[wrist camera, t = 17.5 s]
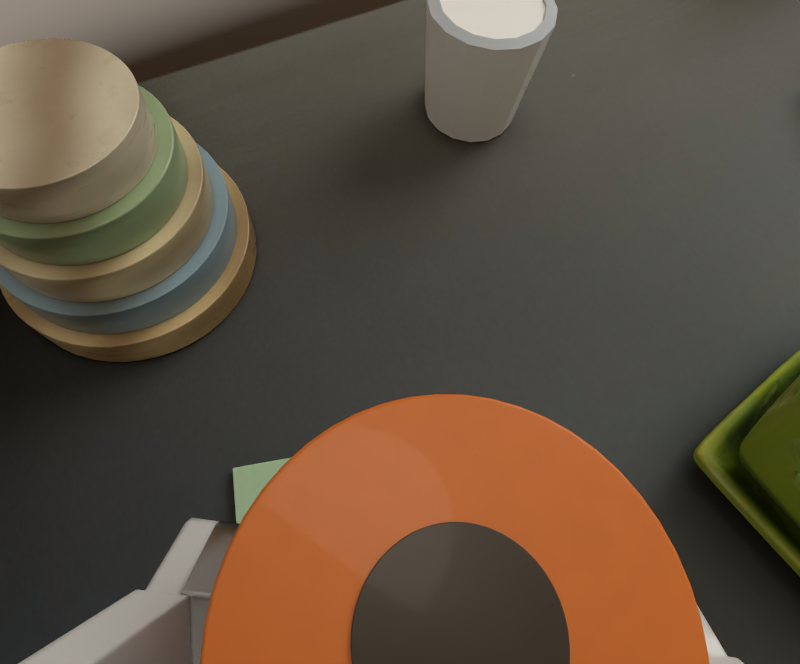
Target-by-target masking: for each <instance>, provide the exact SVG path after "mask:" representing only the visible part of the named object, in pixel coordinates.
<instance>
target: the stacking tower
mask: <svg viewBox="0 0 800 664" xmlns="http://www.w3.org/2000/svg"><path fill="white" fill-rule="evenodd" d="M255 260H256V238H255V232H254V228H253V225H252V222H251V219H250V216H249V213H248V210H247V207H246V204H245V201H244V198H243V196H242V194H241V192H240V190H239V189H238V187H237V185H236V184H235V183H234V181H233V180H232V179H231V178H230V176H229V175H228V174H227V173H226V172H225V171H224V170H222V169H221V168H220V167H219V166H218V165H217V164H216V162H215V161H214V160H213V159H212V157H211V156H210V155H209V154H208V153H207V152H206V151H205V150H204V149H203V148H202V147H201V146H200V145H198V144H197V143H195V141H194V139H193V138H192V137H191V135H190V134H189V133H188V132H187V130H186V129H185V128H184V127H183V126H181V125H180V124H179V123H178V122H177V121H176V120H174V119H173V118H171V117H170V116H169V115H168V113H167V111H166V109H165V108H164V107H163V106H162V104H161V103H160V102H159V101H158V100H157V99H156V98H155V97H154V96H153V95H152V94H151V93H149V92H148V91H147V90H145V89H144V88H142V87H141V86H139V85H138V84H137V82H136V80H135V78H134V76H133V74H132V72H131V71H130V70H129V69H128V67H127V66H126V65H125V64H124V63H123V62H122V61H121V60H120V59H119V58H117V57H116V56H114V55H113V54H111V53H110V52H108V51H106V50H104V49H102V48H100V47H98V46H95V45H92V44H89V43H85V42H81V41H77V40H70V39H57V38H50V39H35V40H27V41H22V42H17V43H13V44H9V45H6V46H2V47H0V288H1V291H2V293H3V295H4V297H5V299H6V301H7V302H8V304H9V305H10V307H11V308H12V309H13V310H14V312H15V313H16V314H17V315H18V316H19V317H20V318H21V319H22V320H23V321H24V322H25V323H27V324H28V325H29V326H30V327H32V328H33V329H35V330H36V331H37V332H39V333H40V334H42V335H43V336H44V337H46V338H47V339H49V340H50V341H51V342H53V343H55V344H56V345H58V346H59V347H61V348H62V349H65V350H67V351H69V352H71V353H74V354H76V355H79V356H83V357H86V358H90V359H95V360H101V361H110V362H128V361H139V360H145V359H150V358H155V357H159V356H162V355H165V354H168V353H171V352H174V351H177V350H179V349H181V348H183V347H185V346H188V345H190V344H191V343H193V342H195V341H196V340H198V339H200V338H201V337H203V336H205V335H206V334H207V333H209V332H210V331H211V330H213V329H214V328H215V327H217V326H218V325H219V324H220V323H221V322H222V321H223V320H224V319H225V318H226V317H227V316H228V315H229V314H230V312H231V311H232V310H233V309H234V308H235V306H236V305H237V304H238V302H239V301H240V299H241V297H242V296H243V294H244V293H245V291H246V289H247V286H248V284H249V282H250V280H251V277H252V273H253V270H254V267H255Z"/></svg>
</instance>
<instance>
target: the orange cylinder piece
mask: <svg viewBox="0 0 800 664" xmlns="http://www.w3.org/2000/svg"><path fill="white" fill-rule="evenodd" d="M200 664H709V655H708V650H707V645H706V640H705V635H704V630H703V625H702V620H701V616H700V613H699V610H698V607H697V604H696V600H695V597H694V594H693V591H692V588H691V584H690V582H689V580H688V577H687V575H686V573H685V570H684V568H683V566H682V563H681V561H680V559H679V556H678V554H677V552H676V550H675V548H674V546H673V544H672V543H671V541H670V539H669V537H668V536H667V534H666V532H665V530H664V528H663V527H662V525H661V523H660V521H659V520H658V518H657V517H656V516H655V514H654V513H653V511H652V510H651V509H650V507H649V506H648V504H647V503H646V502H645V500H644V499H643V497H642V496H641V495H640V493H639V492H638V491H637V490H636V489H635V488H634V487H633V485H632V484H631V483H630V482H629V481H628V480H627V479H626V478H625V476H624V475H623V474H622V473H621V472H620V471H619V470H618V469H617V468H616V467H615V466H614V465H613V464H612V463H611V462H609V461H608V460H607V459H606V458H605V457H604V456H603V455H602V454H601V453H600V452H598V451H597V450H596V449H595V448H593V447H592V446H591V445H589V444H588V443H587V442H585V441H584V440H582V439H581V438H580V437H578V436H577V435H575V434H574V433H573V432H571V431H569V430H568V429H566V428H564V427H562V426H560V425H559V424H557V423H555V422H553V421H552V420H550V419H548V418H546V417H544V416H542V415H539V414H537V413H534V412H532V411H529V410H527V409H525V408H522V407H520V406H516V405H513V404H509V403H506V402H502V401H498V400H495V399H490V398H484V397H477V396H470V395H457V394H433V395H424V396H414V397H407V398H403V399H399V400H395V401H391V402H386V403H382V404H380V405H377V406H374V407H372V408H369V409H366V410H364V411H361V412H359V413H356V414H354V415H352V416H350V417H348V418H347V419H345V420H343V421H341V422H339V423H337V424H335V425H333V426H331V427H330V428H328V429H327V430H326V431H324V432H323V433H321V434H320V435H318V436H317V437H316V438H314V439H313V440H311V441H310V442H308V443H307V444H306V445H305V446H304V447H302V448H301V449H300V450H299V451H298V452H297V453H296V454H295V455H294V456H292V457H291V458H290V459H289V460H288V461H287V462H286V463H285V464H284V465H283V466H282V467H281V468H280V469H279V470H278V472H277V473H276V474H275V475H274V476H273V477H272V478H271V480H270V481H269V482H268V483H267V484H266V485H265V487H264V488H263V489H262V490H261V492H260V493H259V495H258V496H257V498H256V499H255V501H254V502H253V504H252V505H251V507H250V508H249V509H248V511H247V512H246V514H245V515H244V517H243V519H242V521H241V523H240V525H239V527H238V528H237V530H236V532H235V534H234V536H233V538H232V540H231V542H230V544H229V546H228V548H227V550H226V553H225V556H224V558H223V561H222V564H221V566H220V569H219V572H218V574H217V577H216V579H215V582H214V586H213V590H212V594H211V598H210V602H209V606H208V610H207V614H206V618H205V625H204V632H203V640H202V647H201V654H200Z"/></svg>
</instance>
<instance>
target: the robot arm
mask: <svg viewBox="0 0 800 664" xmlns="http://www.w3.org/2000/svg"><path fill="white" fill-rule="evenodd" d="M239 525H240V524H239V523H231V522H224V521H220V522H218V521H212V520H205V519H199V518H191V519H190V520H188V521H187V522H186V523H185V524H184V526H183V527H182V529H181V531H180V532H179V534H178V536H177V537H176V539H175V541H174V542H173V544H172V546H171V547H170V549H169V551H168V553H167V554H166V556H165V558H164V559H163V561H162V563H161V564H160V566H159V568H158V569H157V571H156V573H155V574H154V576H153V578H152V579H151V581H150V583H149V584H148V586H147V588H146V589H145V590H134V591H133V592H131V593H130V594H128V595H127V596H125V597H123V598H122V599H120V600H119V601H117V602H115V603H114V604H112V605H111V606H109V607H107V608H106V609H104V610H103V611H101V612H99V613H98V614H96V615H95V616H93V617H91V618H90V619H88V620H87V621H85V622H84V623H82V624H80V625H79V626H77V627H76V628H74V629H72V630H71V631H69V632H68V633H66V634H64V635H63V636H61V637H60V638H58V639H56V640H55V641H53V642H52V643H50V644H48V645H47V646H45V647H44V648H42V649H40V650H39V651H37V652H36V653H34V654H33V655H31V656H29V657H28V658H26V659H25V660H23V661H21V662H20V663H18V664H200V654H201V647H202V640H203V632H204V625H205V618H206V614H207V610H208V606H209V602H210V598H211V594H212V590H213V586H214V582H215V579H216V577H217V574H218V572H219V569H220V566H221V564H222V561H223V558H224V556H225V553H226V550H227V548H228V546H229V544H230V542H231V540H232V538H233V536H234V534H235V532H236V530H237V528H238V527H239ZM697 607H698V605H697ZM698 610H699V613H700V616H701V620H702V625H703V630H704V635H705V640H706V645H707V650H708V655H709V664H744V663H743V662H742V661H740V660H739V659H738V658H735V657H728V656H727V654H726V653H725V651H724V649H723V648H722V646H721V644H720V642H719V641H718V639H717V637H716V636H715V634H714V632H713V631H712V629H711V627H710V626H709V624H708V622H707V621H706V619H705V617H704V616H703V614H702V612H701V611H700V609H699V607H698Z"/></svg>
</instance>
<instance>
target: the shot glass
mask: <svg viewBox="0 0 800 664" xmlns="http://www.w3.org/2000/svg"><path fill="white" fill-rule="evenodd" d="M557 11H558V8H557V6H556V4H555V1H554V0H427V3H426V67H425V107H426V112H427V116H428V118H429V120H430V121H431V122H432V123H433V125H434V126H435V127H436V128H437V129H438V130H439V131H441V132H442V133H444V134H446V135H448V136H449V137H451V138H453V139H458V140H462V141H467V142H478V141H488V140H490V139H492V138H494V137H496V136H498V135H501V134H502V133H503V132H504V130H505V129H506V128H507V127H508V126H509V125H510V123H511V121H512V119H513V117H514V114H515V112H516V110H517V108H518V106H519V104H520V101H521V99H522V97H523V95H524V93H525V90H526V88H527V86H528V84H529V82H530V79H531V77H532V75H533V73H534V71H535V69H536V66H537V64H538V62H539V60H540V58H541V55H542V53H543V51H544V49H545V47H546V44H547V42H548V40H549V38H550V36H551V34H552V31H553V29H554V27H555V23H556V17H557Z"/></svg>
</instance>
